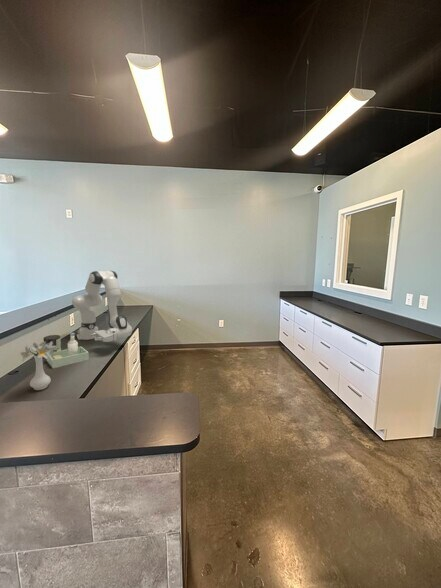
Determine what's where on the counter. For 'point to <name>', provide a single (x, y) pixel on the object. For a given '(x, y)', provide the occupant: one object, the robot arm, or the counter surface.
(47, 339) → the coffee can
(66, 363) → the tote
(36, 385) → the flower vase
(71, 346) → the milk bottle
